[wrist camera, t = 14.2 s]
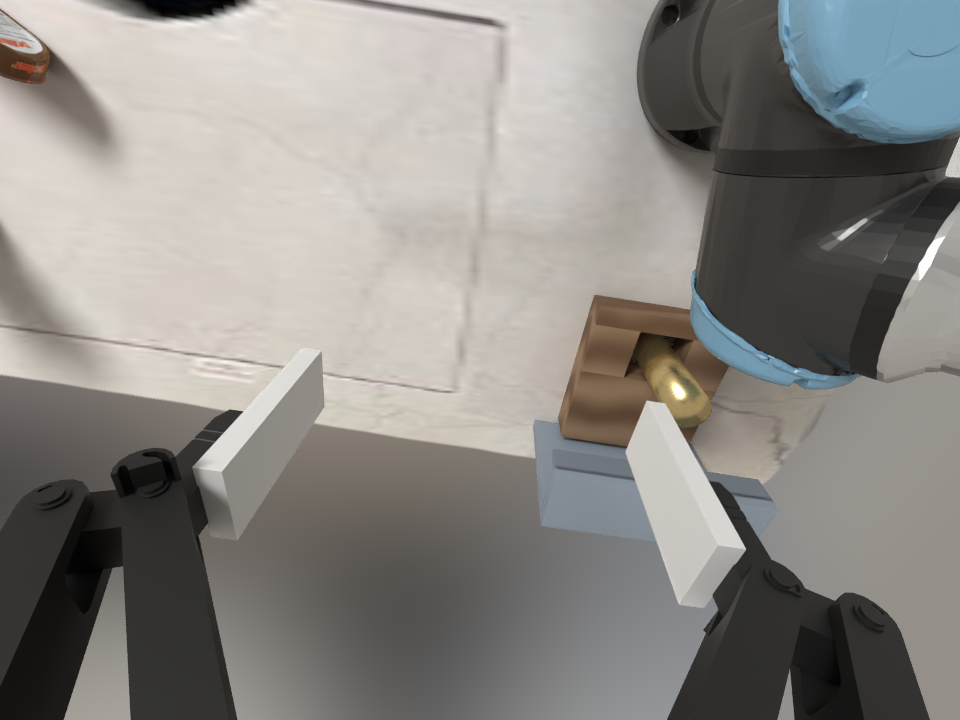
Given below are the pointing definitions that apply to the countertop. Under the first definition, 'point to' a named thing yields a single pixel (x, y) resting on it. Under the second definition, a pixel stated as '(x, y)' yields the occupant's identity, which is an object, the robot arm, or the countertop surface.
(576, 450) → the blue-grey hooked bracket
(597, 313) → the socket block
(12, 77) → the brown curved piece
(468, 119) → the countertop surface
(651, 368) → the peg
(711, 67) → the robot arm
